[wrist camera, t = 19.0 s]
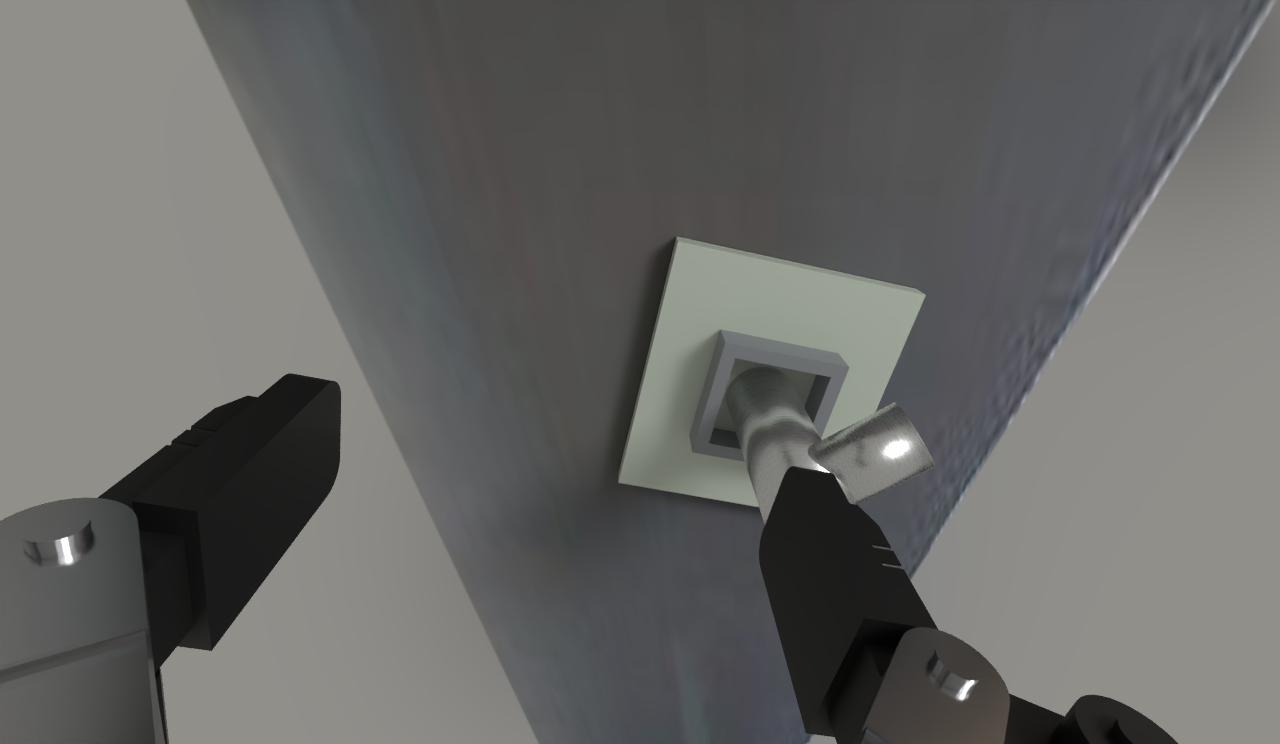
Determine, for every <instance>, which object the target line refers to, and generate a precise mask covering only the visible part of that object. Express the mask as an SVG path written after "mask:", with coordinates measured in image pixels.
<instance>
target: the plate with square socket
mask: <svg viewBox="0 0 1280 744" xmlns="http://www.w3.org/2000/svg"><path fill="white" fill-rule="evenodd" d="M925 296H926V295H925V294H923V293H922V292H920V291H919V290H917V289H914V288H910V287H905V286H901V285H896V284H892V283H887V282H882V281H878V280H873V279H869V278H864V277H860V276H855V275H850V274H846V273H841V272H837V271H832V270H828V269H823V268H819V267H814V266H809V265H805V264H800V263H796V262H791V261H787V260H782V259H777V258H773V257H768V256H764V255H759V254H755V253H750V252H745V251H741V250H736V249H732V248H727V247H723V246H718V245H713V244H709V243H704V242H700V241H695V240H691V239H686V238H681V237H677V236H676V240H675V245H674V249H673V253H672V257H671V261H670V265H669V269H668V273H667V277H666V281H665V285H664V289H663V294H662V298H661V302H660V306H659V310H658V314H657V318H656V322H655V326H654V330H653V334H652V338H651V343H650V347H649V351H648V355H647V359H646V363H645V367H644V371H643V375H642V379H641V383H640V387H639V392H638V396H637V400H636V404H635V408H634V412H633V416H632V420H631V424H630V428H629V432H628V436H627V440H626V445H625V449H624V453H623V457H622V461H621V465H620V469H619V481H618V483H623V484H629V485H634V486H640V487H646V488H652V489H657V490H663V491H669V492H675V493H680V494H686V495H692V496H698V497H704V498H709V499H715V500H721V501H727V502H732V503H738V504H744V505H750V506H755V507H759V505H758V502H757V499H756V495H755V492H754V489H753V486H752V483H751V479H750V476H749V473H748V470H747V467H746V463H745V460H744V457H743V454H742V451H741V447H740V444H739V441H738V438H737V435H736V431H735V428H734V425H733V422H732V419H731V415H730V412H729V409H728V406H727V392H728V389H729V386H730V385H731V383H732V382H733V380H734V379H735V378H736V377H737V376H738V375H739V374H741V373H742V372H744V371H746V370H748V369H751V368H755V367H770V368H774V369H776V370H778V371H780V372H782V373H783V374H784V375H785V376H786V377H787V378H788V380H789V381H790V383H791V385H792V387H793V389H794V390H795V392H796V394H797V396H798V398H799V399H800V401H801V403H802V405H803V407H804V408H805V410H806V412H807V414H808V416H809V417H810V419H811V421H812V423H813V425H814V427H815V428H816V430H817V432H818V434H819V436H820V437H821V439H822V440H823V439H825V438H827V437H829V436H831V435H833V434H835V433H836V432H838V431H840V430H842V429H844V428H846V427H848V426H850V425H852V424H854V423H856V422H858V421H860V420H862V419H864V418H865V417H867V416H869V415H871V414H873V413H875V411H876V409H877V407H878V404H879V402H880V400H881V397H882V395H883V393H884V390H885V388H886V386H887V384H888V381H889V379H890V377H891V374H892V372H893V370H894V367H895V365H896V363H897V360H898V358H899V356H900V353H901V351H902V349H903V347H904V344H905V342H906V340H907V337H908V335H909V333H910V330H911V328H912V326H913V323H914V321H915V319H916V317H917V314H918V312H919V310H920V307H921V305H922V303H923V300H924V298H925Z"/></svg>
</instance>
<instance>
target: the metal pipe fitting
mask: <svg viewBox="0 0 1280 744" xmlns="http://www.w3.org/2000/svg"><path fill="white" fill-rule="evenodd" d="M727 406H728V409H729V412H730V415H731V419H732V422H733V425H734V428H735V431H736V435H737V438H738V441H739V444H740V447H741V451H742V454H743V457H744V460H745V463H746V467H747V470H748V473H749V476H750V479H751V483H752V486H753V489H754V492H755V495H756V499H757V502H758V505H759V508H760V511H761V515H762V518H763V521H764V524H766V521H767V519H768V516H769V513H770V511H771V508H772V505H773V503H774V500H775V498H776V495H777V492H778V490H779V487H780V484H781V482H782V479H783V477H784V474H785V473H786V471H787V470H788V468H790V467H791V466H796V467H802V468H807V469H813V470H818V471H824V472H829V473H832V474H834V475H835V477H836V479H837V480H838V482H839V484H840V486H841V488H842V490H843V492H844V493H845V495H846V497H847V499H848V501H849V503H850V504H856V505H857V504H859V503H861V502H863V501H865V500H867V499H869V498H871V497H873V496H875V495H877V494H880V493H882V492H884V491H886V490H888V489H890V488H892V487H894V486H896V485H898V484H900V483H902V482H904V481H906V480H908V479H910V478H912V477H915V476H917V475H919V474H921V473H923V472H925V471H927V470H929V469H931V468H933V467H935V464H934V462H933V459H932V457H931V455H930V453H929V451H928V449H927V447H926V446H925V444H924V442H923V441H922V439H921V437H920V436H919V434H918V432H917V431H916V429H915V428H914V426H913V425H912V423H911V422H910V420H909V419H908V417H907V416H906V415H905V413H904V412H903V411H902V409H901V408H900V407H899V406H898V405H897V404H896V403H893V404H891V405H889V406H887V407H885V408H883V409H881V410H879V411H877V412H875V413H873V414H871V415H869V416H867V417H865V418H864V419H862V420H860V421H858V422H856V423H854V424H852V425H850V426H848V427H846V428H844V429H842V430H840V431H838V432H836V433H835V434H833V435H831V436H829V437H827V438H825V439H823V440H822V439H821V437H820V436H819V434H818V432H817V430H816V428H815V427H814V425H813V423H812V421H811V419H810V417H809V416H808V414H807V412H806V410H805V408H804V407H803V405H802V403H801V401H800V399H799V398H798V396H797V394H796V392H795V390H794V389H793V387H792V385H791V383H790V381H789V380H788V378H787V377H786V376H785V375H784V374H783V373H782V372H780V371H778V370H776V369H774V368H770V367H755V368H751V369H748V370H746V371H744V372H742V373H741V374H739V375H738V376H737V377H736V378H735V379H734V380H733V382H732V383H731V385H730V386H729V389H728V392H727Z"/></svg>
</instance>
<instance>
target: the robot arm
mask: <svg viewBox="0 0 1280 744" xmlns="http://www.w3.org/2000/svg"><path fill="white" fill-rule="evenodd" d="M340 424H341V391H340V386H339V385H338V383H337V382H335V381H329V380H324V379H319V378H313V377H308V376H302V375H297V374H287V375H285V376H283V377H282V378H281V379H280V380H278V381H277V382H276V383H275V384H274V385H272V386H271V387H270V388H269V389H267V390H266V391H265V392H264V393H263V394H262V395H260V396H259V397H252V396H246V397H243V398H241V399H238V400H235V401H233V402H230V403H227V404H225V405H222V406H220V407H217V408H215V409H213V410H212V411H211V412H210V413H208V414H207V415H205V416H204V417H203V418H202V419H200V420H199V421H197V422H196V423H195V424H194V425H192V426H191V430H186V431H184V432H183V433H182V434H181V435H179V436H178V437H177V438H175V439H174V440H173V441H172V444H171V445H166V446H165V447H163V448H162V449H161V450H160V451H158V452H157V453H156V454H154V455H153V456H152V457H151V458H149V459H148V460H146V461H145V462H144V463H142V464H141V465H140V466H139V467H137V468H136V469H135V470H133V471H132V472H131V473H130V474H128V475H127V476H126V477H124V478H123V479H122V480H120V481H119V482H118V483H116V484H115V485H114V486H112V487H111V488H110V489H108V490H107V491H106V492H105V493H103V494H102V495H101V496H99V497H98V498H73V499H66V500H59V501H54V502H49V503H45V504H42V505H38V506H35V507H31V508H29V509H26V510H23V511H20V512H18V513H16V514H13V515H11V516H9V517H7V518H5V519H3V520H1V521H0V744H169V739H168V730H167V720H166V711H165V702H164V692H163V683H162V675H161V669H160V667H161V665H162V664H163V663H164V661H165V660H166V659H167V658H168V657H169V656H170V654H171V653H172V652H173V651H174V649H175V648H176V647H177V646H180V647H188V648H195V649H202V650H209V651H212V650H213V648H214V647H215V646H216V644H217V643H218V641H219V640H220V639H221V637H222V636H223V635H224V633H225V632H226V631H227V629H228V628H229V627H230V625H231V624H232V623H233V621H234V620H235V619H236V617H237V616H238V615H239V613H240V612H241V611H242V609H243V608H244V607H245V605H246V604H247V603H248V601H249V600H250V599H251V597H252V596H253V594H254V593H255V592H256V591H257V589H258V588H259V586H260V585H261V584H262V582H263V581H264V580H265V579H266V577H267V576H268V575H269V573H270V572H271V570H272V569H273V568H274V566H275V565H276V564H277V563H278V561H279V560H280V559H281V557H282V556H283V555H284V553H285V552H286V551H287V549H288V548H289V547H290V545H291V544H292V543H293V541H294V540H295V538H296V537H297V536H298V534H299V533H300V532H301V530H302V529H303V528H304V526H305V525H306V524H307V522H308V521H309V519H310V518H311V517H312V515H313V514H314V513H315V512H316V510H317V509H318V508H319V506H320V505H321V504H322V502H323V501H324V500H325V498H326V497H327V495H328V494H329V493H330V491H331V489H332V487H333V485H334V482H335V479H336V476H337V473H338V468H339V462H340V426H341V425H340ZM890 548H891V546H890V545H889V543H888V541H887V539H886V538H885V536H884V534H883V532H882V531H881V529H880V527H879V525H878V524H877V523H876V522H874V521H873V520H872V519H871V518H870V517H869V516H868V515H867V514H866V513H865V512H864V511H863V510H862V509H861V508H860V507H859V506H858V505H856V504H850V503H849V501H848V499H847V497H846V495H845V493H844V492H843V490H842V488H841V486H840V484H839V482H838V480H837V479H836V477H835V475H834V474H832V473H829V472H824V471H818V470H813V469H807V468H802V467H796V466H791V467H790V468H788V470H787V471H786V473H785V474H784V477H783V479H782V482H781V484H780V487H779V490H778V492H777V495H776V498H775V500H774V503H773V505H772V508H771V511H770V513H769V516H768V519H767V521H766V524H765V527H764V529H763V532H762V536H761V540H760V547H759V561H760V567H761V571H762V575H763V578H764V582H765V586H766V589H767V593H768V597H769V600H770V604H771V607H772V611H773V615H774V618H775V622H776V626H777V629H778V633H779V636H780V640H781V644H782V647H783V651H784V655H785V658H786V662H787V666H788V669H789V673H790V676H791V680H792V684H793V687H794V691H795V695H796V698H797V702H798V706H799V709H800V713H801V716H802V720H803V724H804V727H805V731H806V733H809V734H817V735H824V736H831V737H835V739H836V742H837V744H1178V743H1177V742H1176V741H1175V740H1174V739H1173V738H1172V737H1171V736H1170V735H1169V734H1168V733H1166V732H1165V731H1164V730H1163V729H1162V728H1160V727H1159V726H1158V725H1157V724H1155V723H1154V722H1153V721H1151V720H1150V719H1148V718H1147V717H1145V716H1144V715H1143V714H1141V713H1139V712H1138V711H1136V710H1134V709H1132V708H1131V707H1129V706H1127V705H1125V704H1123V703H1121V702H1118V701H1116V700H1113V699H1111V698H1107V697H1103V696H1098V695H1086V696H1083V697H1080V698H1079V699H1078V700H1077V701H1076V703H1075V704H1074V705H1073V706H1072V708H1071V709H1070V710H1069V712H1068V713H1067V714H1066V716H1065V717H1064V716H1062V715H1059V714H1057V713H1055V712H1052V711H1050V710H1047V709H1045V708H1043V707H1040V706H1038V705H1035V704H1033V703H1030V702H1028V701H1026V700H1023V699H1021V698H1018V697H1016V696H1013V695H1011V694H1009V692H1008V689H1007V687H1006V684H1005V682H1004V681H1003V679H1002V678H1001V676H1000V675H999V673H998V672H997V670H996V669H995V668H994V667H993V666H992V664H991V663H989V661H988V660H987V659H986V658H985V657H984V656H983V655H981V654H980V653H979V652H978V651H976V650H975V649H974V648H973V647H971V646H970V645H968V644H967V643H965V642H964V641H962V640H960V639H958V638H957V637H955V636H953V635H951V634H948V633H946V632H943V631H940V630H938V628H937V627H936V625H935V623H934V621H933V620H932V618H931V616H930V614H929V613H928V611H927V609H926V607H925V606H924V604H923V602H922V600H921V599H920V597H919V596H918V594H917V592H916V590H915V588H914V586H913V585H912V583H911V581H910V579H909V578H908V576H907V574H906V573H905V571H904V569H901V564H900V562H899V560H898V559H897V557H896V555H895V553H894V552H893V551H890Z"/></svg>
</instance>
